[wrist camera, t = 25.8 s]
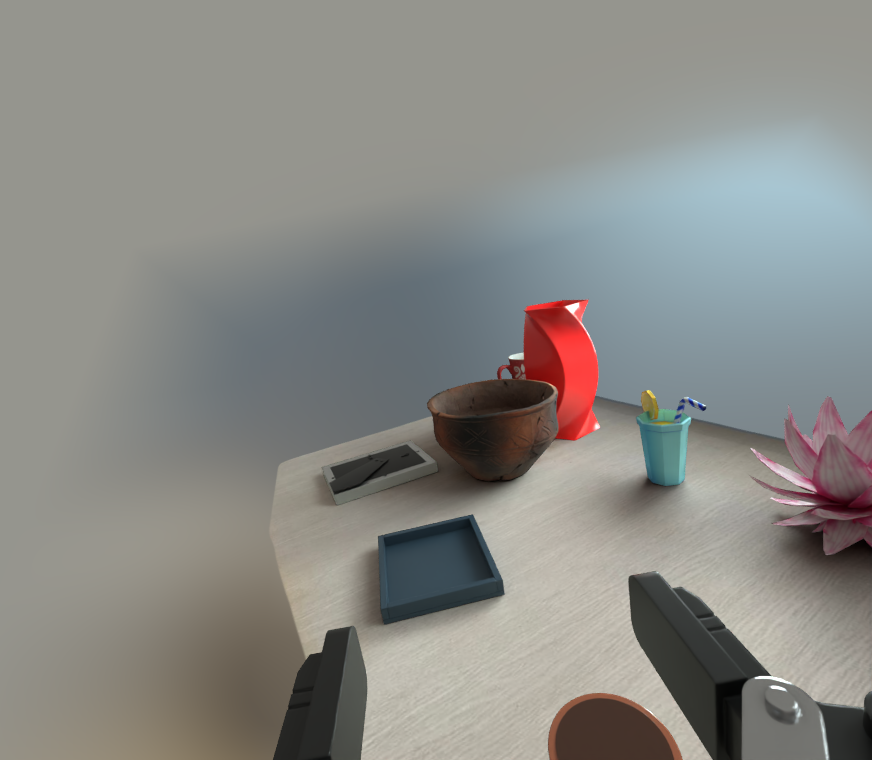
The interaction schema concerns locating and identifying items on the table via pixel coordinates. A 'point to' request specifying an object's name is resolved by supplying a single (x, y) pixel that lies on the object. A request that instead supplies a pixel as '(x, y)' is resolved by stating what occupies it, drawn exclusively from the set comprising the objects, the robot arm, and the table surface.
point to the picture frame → (377, 471)
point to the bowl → (496, 425)
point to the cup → (665, 439)
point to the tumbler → (609, 731)
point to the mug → (514, 367)
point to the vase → (563, 362)
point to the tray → (435, 569)
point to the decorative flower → (829, 478)
